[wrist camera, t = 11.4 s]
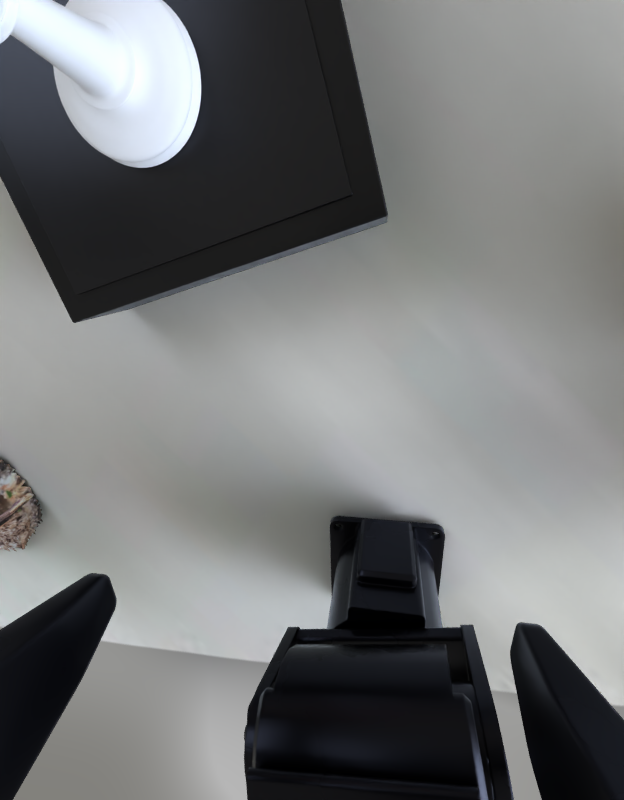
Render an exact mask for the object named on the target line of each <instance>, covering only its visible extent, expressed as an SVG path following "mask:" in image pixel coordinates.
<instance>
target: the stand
mask: <svg viewBox="0 0 624 800" xmlns="http://www.w3.org/2000/svg"><path fill="white" fill-rule="evenodd" d="M53 1H55V2H57V3H59V4H61V5H62V6H64V7H65V6H66V4H67V3H68V1H69V0H53ZM163 1H164V2H165V3H166V4H167V5H168V6H169V7H170V8H171V9H172V10H173V11H174V12H175V13H176V15H177V16H178V17H179V19H180V20H181V22H182V23H183V25H184V26H185V28H186V30H187V32H188V34H189V36H190V38H191V40H192V43H193V46H194V48H195V51H196V55H197V59H198V63H199V68H200V75H201V102H200V109H199V113H198V117H197V121H196V124H195V127H194V129H193V131H192V133H191V135H190V137H189V139H188V141H187V142H186V144H185V145H184V146H183V147H182V149H181V150H180V151H179V152H178V153H177V154H176V155H175V156H173V157H172V158H171V159H169V160H168V161H166V162H164V163H162V164H160V165H157V166H153V167H147V168H136V167H130V166H126V165H123V164H121V163H118V162H116V161H114V160H113V159H111V158H109V157H108V156H106V155H104V154H102V153H101V152H99V151H98V150H96V149H95V148H94V147H92V146H91V145H90V144H89V143H88V142H87V141H86V140H85V139H84V138H83V137H82V136H81V135H80V133H79V132H78V131H77V129H76V128H75V127H74V125H73V124H72V122H71V120H70V119H69V117H68V115H67V113H66V111H65V109H64V107H63V104H62V102H61V99H60V96H59V93H58V90H57V86H56V82H55V76H54V69H53V65H52V64H51V63H49V62H48V61H47V60H45V59H44V58H43V57H41V56H40V55H38V54H37V53H36V52H34V51H33V50H32V49H30V48H29V47H28V46H26V45H25V44H23V43H22V42H20V41H19V40H17V39H16V38H15V37H13V36H12V35H9V37H8V38H7V39H6V40H5V41H3V42H2V43H0V177H1V179H2V181H3V183H4V185H5V187H6V189H7V191H8V193H9V195H10V197H11V199H12V201H13V203H14V205H15V207H16V209H17V211H18V213H19V215H20V217H21V219H22V221H23V223H24V225H25V227H26V229H27V231H28V233H29V235H30V237H31V239H32V241H33V243H34V245H35V247H36V249H37V251H38V253H39V255H40V257H41V259H42V261H43V263H44V265H45V267H46V269H47V271H48V273H49V275H50V277H51V279H52V281H53V283H54V285H55V287H56V289H57V291H58V293H59V295H60V297H61V299H62V301H63V303H64V305H65V307H66V309H67V312H68V314H69V316H70V318H71V320H72V322H74V323H76V322H80V321H84V320H88V319H92V318H96V317H100V316H104V315H108V314H112V313H116V312H120V311H124V310H128V309H131V308H134V307H137V306H140V305H143V304H146V303H149V302H152V301H155V300H158V299H160V298H163V297H166V296H169V295H172V294H175V293H178V292H181V291H184V290H187V289H190V288H193V287H196V286H199V285H202V284H205V283H208V282H211V281H214V280H217V279H220V278H223V277H226V276H229V275H232V274H235V273H238V272H241V271H244V270H247V269H250V268H253V267H256V266H259V265H261V264H264V263H267V262H270V261H273V260H276V259H279V258H282V257H285V256H288V255H291V254H294V253H297V252H300V251H303V250H306V249H309V248H312V247H315V246H318V245H321V244H324V243H327V242H330V241H333V240H336V239H339V238H342V237H345V236H348V235H351V234H354V233H357V232H360V231H363V230H365V229H368V228H371V227H374V226H377V225H380V224H383V223H386V222H387V218H388V213H387V208H386V203H385V199H384V194H383V190H382V185H381V181H380V176H379V172H378V167H377V163H376V158H375V153H374V149H373V144H372V140H371V135H370V131H369V126H368V122H367V117H366V112H365V108H364V103H363V99H362V94H361V90H360V85H359V81H358V76H357V71H356V67H355V62H354V58H353V53H352V49H351V44H350V40H349V35H348V30H347V26H346V21H345V17H344V12H343V8H342V3H341V0H163Z"/></svg>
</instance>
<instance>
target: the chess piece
mask: <svg viewBox="0 0 624 800" xmlns="http://www.w3.org/2000/svg"><path fill="white" fill-rule="evenodd" d="M9 35H12V36H13V37H15V38H16V39H17V40H19V41H20V42H22V43H23V44H25V45H26V46H28V47H29V48H30V49H32V50H33V51H34V52H36V53H37V54H38V55H40V56H41V57H43V58H44V59H45V60H47V61H48V62H49V63H51V64H52V65H53V69H54V76H55V82H56V86H57V90H58V93H59V96H60V99H61V102H62V104H63V107H64V109H65V111H66V113H67V115H68V117H69V119H70V120H71V122H72V124H73V125H74V127H75V128H76V129H77V131H78V132H79V133H80V135H81V136H82V137H83V138H84V139H85V140H86V141H87V142H88V143H89V144H90V145H91V146H92V147H94V148H95V149H96V150H98V151H99V152H101V153H102V154H104V155H106V156H108V157H109V158H111V159H113V160H114V161H116V162H118V163H121V164H123V165H126V166H130V167H136V168H147V167H153V166H157V165H160V164H162V163H164V162H166V161H168V160H169V159H171V158H172V157H173V156H175V155H176V154H177V153H178V152H179V151H180V150H181V149H182V147H183V146H184V145H185V144H186V142H187V141H188V139H189V137H190V135H191V133H192V131H193V129H194V127H195V124H196V121H197V117H198V113H199V109H200V102H201V75H200V68H199V63H198V59H197V55H196V51H195V48H194V46H193V43H192V40H191V38H190V36H189V34H188V32H187V30H186V28H185V26H184V25H183V23H182V22H181V20H180V19H179V17H178V16H177V15H176V13H175V12H174V11H173V10H172V9H171V8H170V7H169V6H168V5H167V4H166V3H165V2H164V1H163V0H69V1H68V3H67V4H66V6H65V7H64V6H62V5H61V4H59V3H57V2H55V1H53V0H0V43H2V42H3V41H5V40H6V39H7V38H8V37H9Z"/></svg>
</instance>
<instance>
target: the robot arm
mask: <svg viewBox="0 0 624 800" xmlns="http://www.w3.org/2000/svg"><path fill="white" fill-rule="evenodd" d="M336 524H341V525H342V526H337V525H336ZM433 532H437V533H438V534H436V535H434V534H432V533H433ZM444 540H445V534H444V529H443V528H442V526H440V525H438V524H429V523H417V522H405V521H393V520H380V519H368V518H356V517H344V516H336V517H333V518H332V520H331V524H330V546H331V585H332V600H331V606H330V613H329V619H328V626H327V629H300V627H288V629H287V631H286V633H285V635H284V637H283V638H282V640H281V642H280V644H279V646H278V648H277V650H276V652H275V654H274V656H273V658H272V660H271V662H270V664H269V666H268V668H267V670H266V672H265V674H264V676H263V678H262V680H261V682H260V684H259V686H258V687H257V690H256V692H255V695H254V697H253V699H252V701H251V703H250V705H249V708H248V713H247V725H246V727H245V732H244V740H245V752H244V753H245V754H244V763H245V776H246V784H247V799H248V800H514V798H513V792H512V787H511V782H510V776H509V771H508V766H507V760H506V756H505V751H504V746H503V742H502V737H501V732H500V727H499V723H498V718H497V714H496V710H495V706H494V702H493V698H492V694H491V690H490V686H489V683H488V679H487V675H486V671H485V668H484V664H483V660H482V657H481V653H480V649H479V646H478V642H477V638H476V634H475V631H474V627H473V625H460V626H461V627H452V628H442V621H441V614H440V607H439V600H438V595H439V586H440V576H441V567H442V558H443V549H444ZM115 607H116V596H115V593H114V590H113V587H112V584H111V581H110V578H109V577H108V576H107V575H105V574H97V573H91V574H88V575H86V576H84V577H83V578H81V579H80V580H78V581H77V582H75V583H73V584H72V585H70V586H69V587H67V588H66V589H64V590H62V591H61V592H59V593H58V594H56V595H54V596H53V597H51V598H50V599H48V600H47V601H45V602H43V603H42V604H40V605H39V606H37V607H36V608H34V609H32V610H31V611H29V612H28V613H26V614H25V615H23V616H21V617H20V618H18V619H17V620H15V621H13V622H12V623H10V624H9V625H7V626H6V627H4V628H2V629H1V630H0V800H13V799H14V797H15V795H16V793H17V792H18V790H19V788H20V786H21V784H22V783H23V781H24V779H25V778H26V776H27V774H28V773H29V771H30V769H31V767H32V766H33V764H34V762H35V760H36V759H37V757H38V755H39V753H40V752H41V750H42V748H43V746H44V745H45V743H46V741H47V739H48V738H49V736H50V734H51V732H52V731H53V729H54V727H55V725H56V724H57V722H58V720H59V718H60V717H61V715H62V713H63V712H64V710H65V708H66V706H67V705H68V703H69V701H70V699H71V698H72V696H73V694H74V692H75V691H76V689H77V687H78V685H79V683H80V682H81V680H82V678H83V676H84V674H85V672H86V670H87V668H88V666H89V664H90V661H91V659H92V657H93V655H94V653H95V651H96V648H97V647H98V644H99V642H100V640H101V638H102V636H103V634H104V632H105V630H106V627H107V625H108V623H109V621H110V619H111V617H112V615H113V613H114V610H115ZM510 657H511V664H512V670H513V675H514V680H515V685H516V690H517V695H518V700H519V706H520V711H521V716H522V721H523V726H524V731H525V736H526V742H527V746H528V751H529V756H530V759H531V763H532V767H533V771H534V774H535V777H536V781H537V785H538V788H539V791H540V795H541V798H542V800H624V720H623V718H622V717H621V716H620V715H619V714H618V713H617V712H616V711H615V709H614V708H613V707H612V706H611V705H610V704H609V702H608V701H607V700H606V699H605V698H604V697H603V695H602V694H601V693H600V692H599V691H598V690H597V689H596V687H595V686H594V685H593V684H592V683H591V682H590V681H589V679H588V678H587V677H586V676H585V675H584V674H583V673H582V671H581V670H580V669H579V668H578V667H577V666H576V665H575V663H574V662H573V661H572V660H571V659H570V658H569V656H568V655H567V654H566V653H565V652H564V651H563V650H562V648H561V647H560V646H559V645H558V644H557V643H556V642H555V640H554V639H553V638H552V637H551V636H550V635H549V634H548V632H547V631H546V630H545V629H544V628H543V627H542V626H540V625H537V624H531V623H522V622H521V623H518V624H517V626H516V629H515V633H514V637H513V641H512V645H511V650H510Z"/></svg>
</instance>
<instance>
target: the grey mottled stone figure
mask: <svg viewBox="0 0 624 800" xmlns="http://www.w3.org/2000/svg"><path fill="white" fill-rule="evenodd" d="M14 470H15V469H13V468H11V467H10V464H4V460H0V549H4V550H8V551H10V550H9V549H8V548H10V549H12V550H14V551H16V550H15V549H14V548H13V547H18V548H22V549H24V548H25V545H27V542H28V539H30V538H29V536H31V535H32V533H34V534H35V531H36V530H35V529H34V527H38V523H39V524H41V523H40V522H39V521H42V520H41V516H42V514H41V509H40V504H39V505H37V503H38V500H36V499H35V495H33V493H32V490H31V487H24V486H22V485H23V483H24V482H25V480H22V479H20V476H17V473H11V472H13V471H14ZM36 505H37V506H36ZM38 520H39V521H38ZM27 538H28V539H27ZM16 552H17V551H16Z"/></svg>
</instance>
